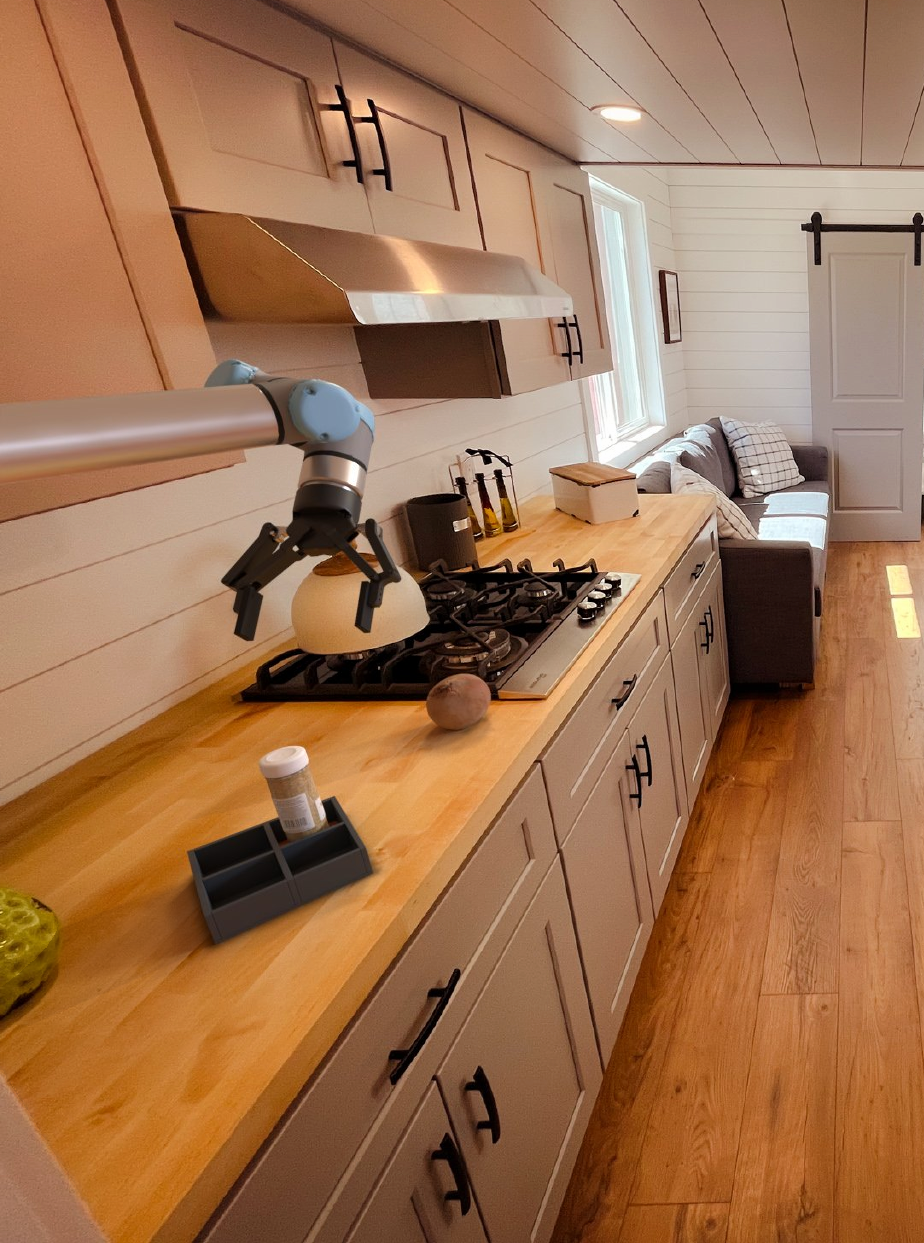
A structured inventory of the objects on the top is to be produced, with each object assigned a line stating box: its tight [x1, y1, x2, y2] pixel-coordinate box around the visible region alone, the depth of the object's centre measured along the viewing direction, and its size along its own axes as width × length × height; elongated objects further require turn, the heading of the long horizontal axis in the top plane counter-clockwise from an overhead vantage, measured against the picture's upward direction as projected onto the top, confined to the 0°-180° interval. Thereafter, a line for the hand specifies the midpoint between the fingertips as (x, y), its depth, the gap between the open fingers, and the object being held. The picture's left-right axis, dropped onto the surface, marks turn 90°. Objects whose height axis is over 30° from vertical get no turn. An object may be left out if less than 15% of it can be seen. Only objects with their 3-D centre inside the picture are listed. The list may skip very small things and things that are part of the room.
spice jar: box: [258, 745, 329, 843], centre depth 89 cm, size 5×5×13 cm
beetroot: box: [425, 673, 492, 731], centre depth 119 cm, size 10×9×10 cm
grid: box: [186, 795, 374, 946], centre depth 86 cm, size 15×15×4 cm
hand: (303, 633), depth 92 cm, fingers open, 13 cm apart
